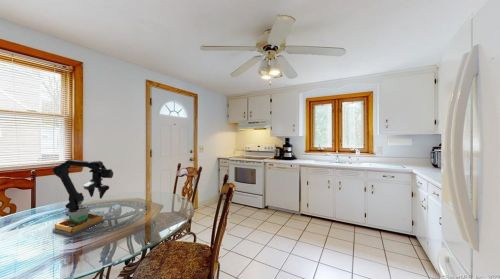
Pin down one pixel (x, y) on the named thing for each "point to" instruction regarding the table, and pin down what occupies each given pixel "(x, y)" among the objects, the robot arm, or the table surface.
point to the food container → (78, 216)
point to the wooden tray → (71, 231)
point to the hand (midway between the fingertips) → (96, 197)
